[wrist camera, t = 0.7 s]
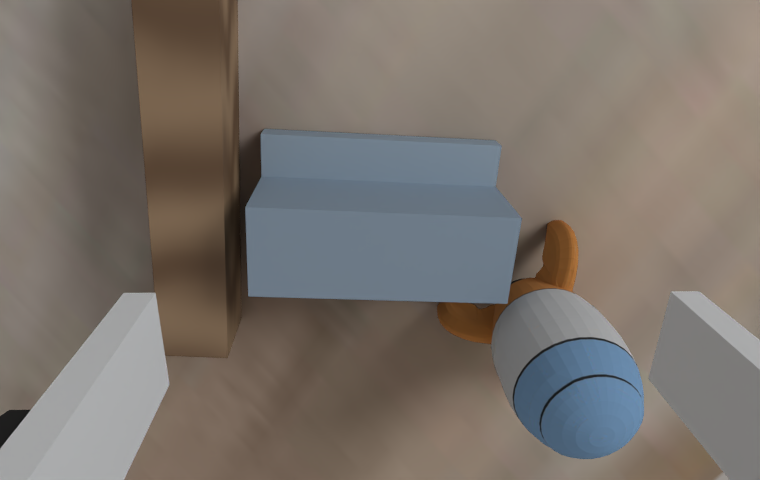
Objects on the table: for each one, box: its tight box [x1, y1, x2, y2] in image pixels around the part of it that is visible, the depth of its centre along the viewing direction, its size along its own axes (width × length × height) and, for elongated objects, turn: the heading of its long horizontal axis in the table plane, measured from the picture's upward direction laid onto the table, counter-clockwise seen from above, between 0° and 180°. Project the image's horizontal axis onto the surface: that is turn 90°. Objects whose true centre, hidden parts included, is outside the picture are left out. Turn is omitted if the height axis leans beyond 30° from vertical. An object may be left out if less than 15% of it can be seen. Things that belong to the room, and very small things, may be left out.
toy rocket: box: [437, 220, 644, 459], centre depth 32 cm, size 10×11×15 cm
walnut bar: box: [131, 0, 241, 358], centre depth 31 cm, size 24×4×5 cm, turn 175°
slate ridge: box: [245, 129, 522, 304], centre depth 32 cm, size 10×14×7 cm
